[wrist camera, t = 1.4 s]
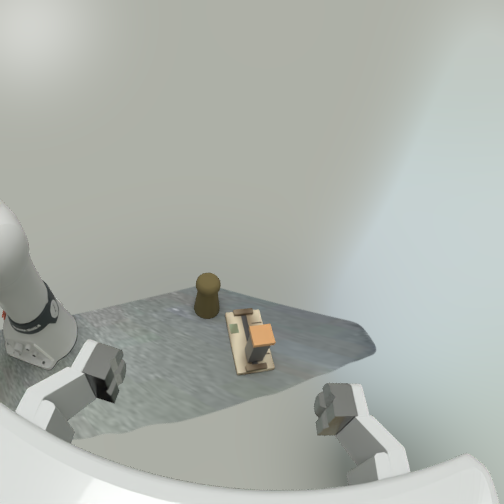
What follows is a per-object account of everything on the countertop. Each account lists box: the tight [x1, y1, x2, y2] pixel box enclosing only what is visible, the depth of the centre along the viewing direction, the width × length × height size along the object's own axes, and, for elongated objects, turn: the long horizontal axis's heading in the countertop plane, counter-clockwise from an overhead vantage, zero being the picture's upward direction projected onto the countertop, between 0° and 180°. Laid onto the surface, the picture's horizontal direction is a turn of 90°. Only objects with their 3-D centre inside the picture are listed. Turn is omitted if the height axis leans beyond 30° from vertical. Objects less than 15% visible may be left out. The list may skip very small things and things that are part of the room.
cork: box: [194, 273, 220, 319], centre depth 60 cm, size 6×6×11 cm
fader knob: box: [245, 324, 276, 363], centre depth 52 cm, size 4×4×10 cm
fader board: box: [225, 308, 275, 375], centre depth 59 cm, size 8×15×2 cm, turn 13°
